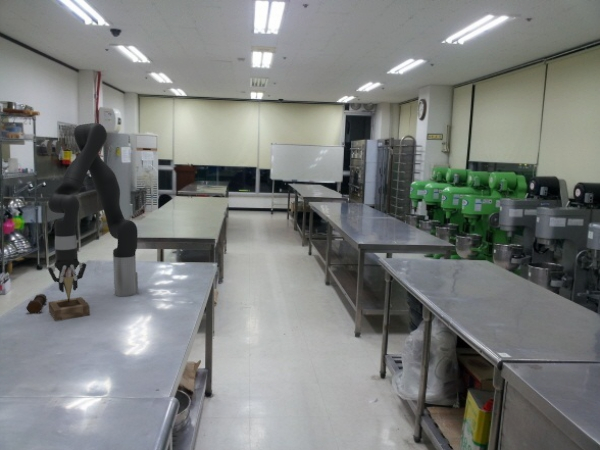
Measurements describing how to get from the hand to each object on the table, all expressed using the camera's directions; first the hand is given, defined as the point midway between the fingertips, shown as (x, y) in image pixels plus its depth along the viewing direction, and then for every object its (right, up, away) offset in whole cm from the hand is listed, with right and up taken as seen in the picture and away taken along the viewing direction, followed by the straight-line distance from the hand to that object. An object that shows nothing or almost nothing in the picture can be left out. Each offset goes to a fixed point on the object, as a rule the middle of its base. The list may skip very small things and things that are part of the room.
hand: (68, 290), depth 183 cm
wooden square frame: (0, -9, +1) cm, 9 cm away
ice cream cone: (0, -5, +1) cm, 5 cm away
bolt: (-15, -8, +7) cm, 19 cm away
